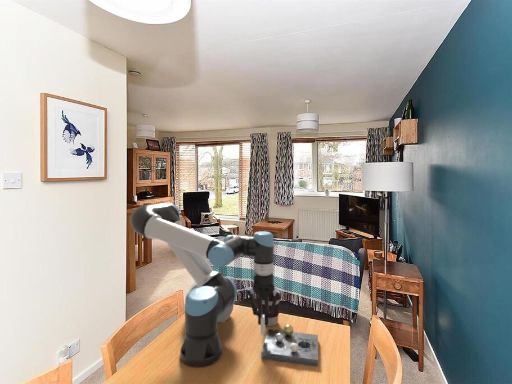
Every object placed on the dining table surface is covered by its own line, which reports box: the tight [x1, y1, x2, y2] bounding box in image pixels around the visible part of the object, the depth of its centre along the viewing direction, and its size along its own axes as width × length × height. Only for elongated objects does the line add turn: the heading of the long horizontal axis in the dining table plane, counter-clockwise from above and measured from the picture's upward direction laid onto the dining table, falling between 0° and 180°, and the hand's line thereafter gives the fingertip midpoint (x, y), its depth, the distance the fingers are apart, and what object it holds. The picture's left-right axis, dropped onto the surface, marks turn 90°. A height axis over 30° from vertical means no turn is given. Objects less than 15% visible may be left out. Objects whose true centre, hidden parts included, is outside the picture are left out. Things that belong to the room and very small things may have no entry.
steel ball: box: [275, 333, 283, 342], centre depth 113 cm, size 3×3×3 cm
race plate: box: [260, 328, 319, 368], centre depth 112 cm, size 20×16×2 cm
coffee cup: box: [262, 287, 282, 327], centre depth 131 cm, size 10×10×15 cm
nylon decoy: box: [290, 343, 298, 352], centre depth 107 cm, size 3×3×3 cm
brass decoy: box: [282, 324, 294, 336], centre depth 118 cm, size 4×4×4 cm
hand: (263, 332), depth 114 cm, fingers closed
